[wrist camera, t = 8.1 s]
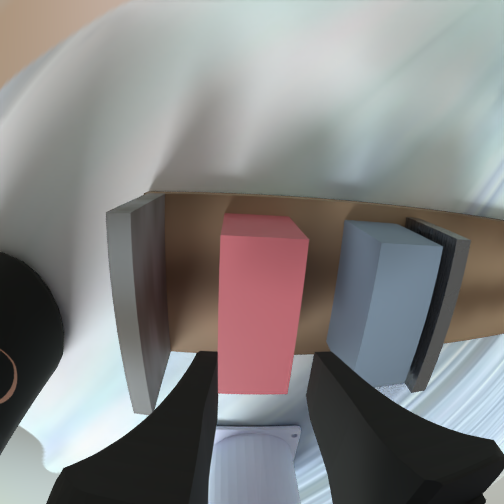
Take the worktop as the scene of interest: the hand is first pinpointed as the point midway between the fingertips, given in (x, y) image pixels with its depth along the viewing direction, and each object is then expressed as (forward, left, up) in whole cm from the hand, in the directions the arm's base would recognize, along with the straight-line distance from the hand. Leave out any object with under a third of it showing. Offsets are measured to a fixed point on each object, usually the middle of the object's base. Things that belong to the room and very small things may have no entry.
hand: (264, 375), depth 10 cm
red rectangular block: (0, 0, -8) cm, 8 cm away
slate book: (0, -7, -8) cm, 11 cm away
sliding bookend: (0, -10, -8) cm, 13 cm away
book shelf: (0, -9, -9) cm, 13 cm away
